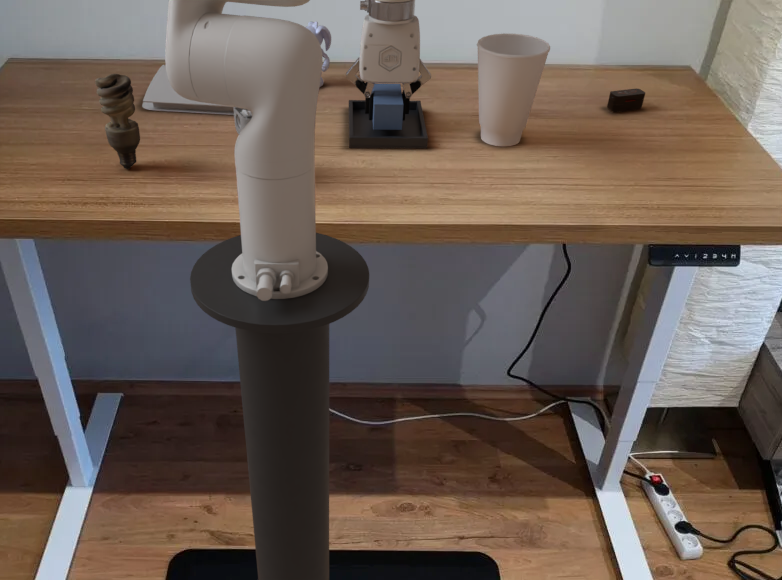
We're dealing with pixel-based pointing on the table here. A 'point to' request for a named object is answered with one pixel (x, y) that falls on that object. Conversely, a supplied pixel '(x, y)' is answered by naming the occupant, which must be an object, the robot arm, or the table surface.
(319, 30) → the toy figurine
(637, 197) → the table surface
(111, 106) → the light bulb
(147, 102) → the book
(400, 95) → the rectangular block
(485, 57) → the cup
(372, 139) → the black tray
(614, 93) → the wireless earbuds
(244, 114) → the mechanical component
